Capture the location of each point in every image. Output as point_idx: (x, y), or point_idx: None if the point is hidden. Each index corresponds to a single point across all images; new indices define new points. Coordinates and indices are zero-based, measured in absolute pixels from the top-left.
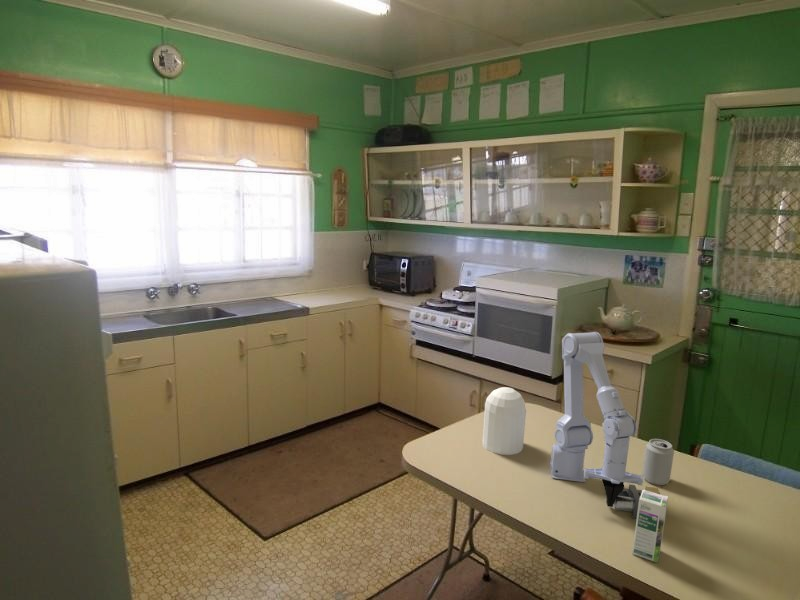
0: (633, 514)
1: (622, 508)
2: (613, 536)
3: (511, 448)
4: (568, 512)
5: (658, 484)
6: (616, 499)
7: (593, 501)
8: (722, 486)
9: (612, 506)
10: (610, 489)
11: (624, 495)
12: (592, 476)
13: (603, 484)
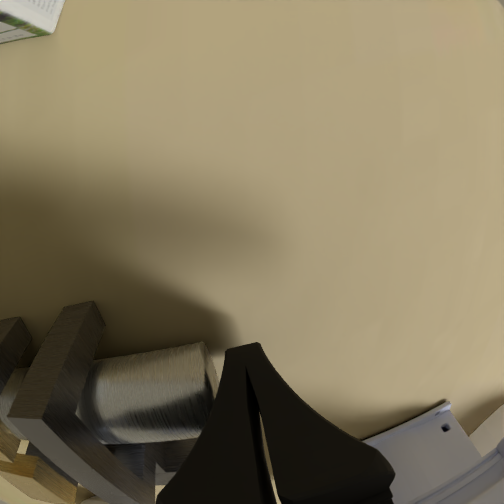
0: (80, 320)
1: (158, 354)
2: (202, 12)
3: (501, 424)
4: (463, 192)
5: (100, 498)
6: (209, 403)
7: (328, 363)
8: (6, 488)
9: (227, 351)
10: (299, 461)
11: (175, 450)
12: (479, 476)
13: (394, 473)
